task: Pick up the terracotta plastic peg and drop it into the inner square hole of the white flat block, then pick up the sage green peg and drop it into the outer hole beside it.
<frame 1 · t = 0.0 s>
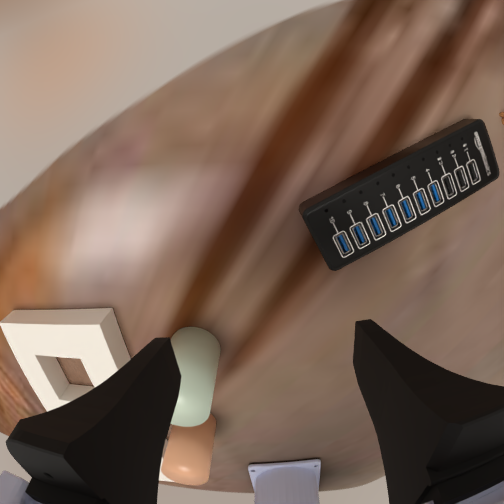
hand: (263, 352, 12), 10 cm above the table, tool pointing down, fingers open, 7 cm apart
multiport hub: (401, 183, 20), on the table
peg terracotta: (195, 420, 27), on the table
white flat block: (98, 402, 27), on the table
peg sage: (195, 347, 24), on the table
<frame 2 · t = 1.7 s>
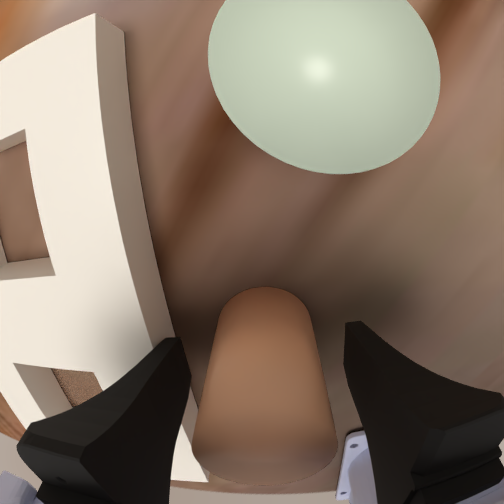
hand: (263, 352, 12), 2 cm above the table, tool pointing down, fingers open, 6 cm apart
peg terracotta: (264, 328, 14), on the table
white flat block: (55, 300, 13), on the table
peg sage: (294, 100, 10), on the table
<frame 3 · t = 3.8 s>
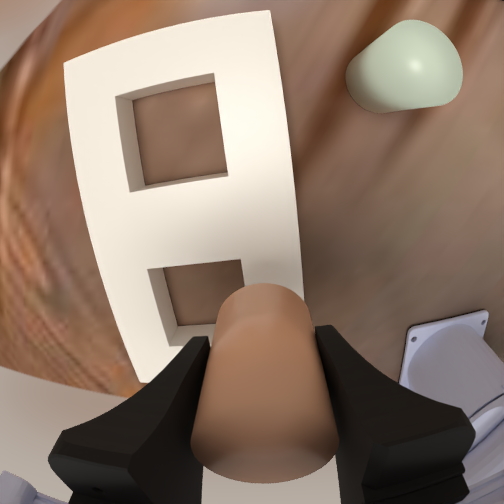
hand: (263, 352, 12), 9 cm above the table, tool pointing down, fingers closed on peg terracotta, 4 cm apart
peg terracotta: (264, 325, 13), point 7 cm above the table, touching gripper
white flat block: (193, 214, 19), on the table
peg sage: (376, 82, 16), on the table
when the fingers open (4 cm above the table, at t = 5.7 s): peg terracotta drops 2 cm, resting in white flat block.
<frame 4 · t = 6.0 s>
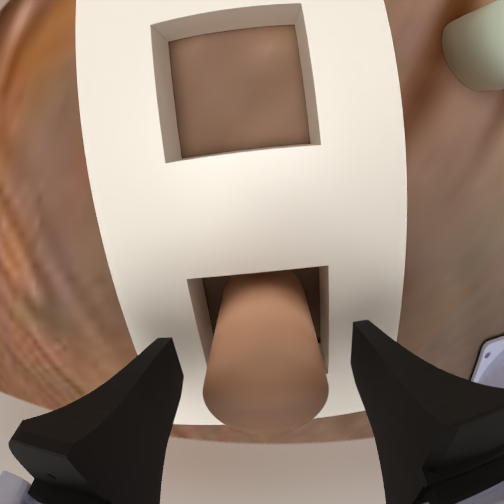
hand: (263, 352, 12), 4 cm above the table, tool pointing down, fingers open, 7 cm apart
peg terracotta: (263, 300, 15), resting in white flat block
white flat block: (251, 201, 14), on the table
peg sage: (472, 54, 11), on the table
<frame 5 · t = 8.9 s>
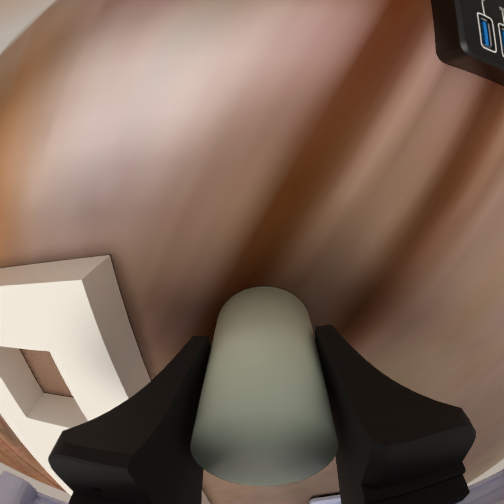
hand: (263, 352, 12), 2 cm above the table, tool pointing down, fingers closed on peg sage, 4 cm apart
white flat block: (88, 421, 17), on the table
peg sage: (263, 328, 13), on the table, touching gripper
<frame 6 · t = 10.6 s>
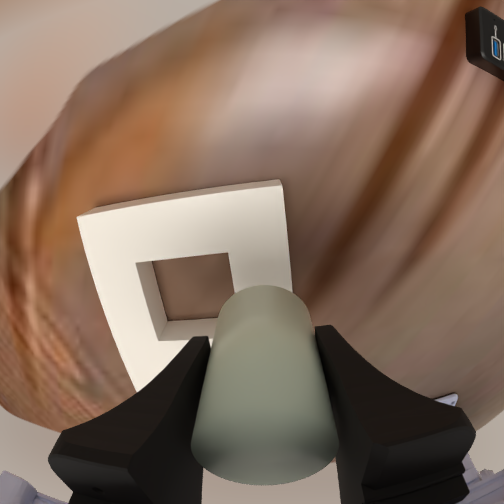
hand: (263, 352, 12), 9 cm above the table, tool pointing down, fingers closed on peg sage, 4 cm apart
white flat block: (210, 344, 23), on the table
peg sage: (264, 327, 13), point 7 cm above the table, touching gripper
when the fingers open (4 cm above the table, at t = 12.5 s): peg sage drops 2 cm, resting in white flat block.
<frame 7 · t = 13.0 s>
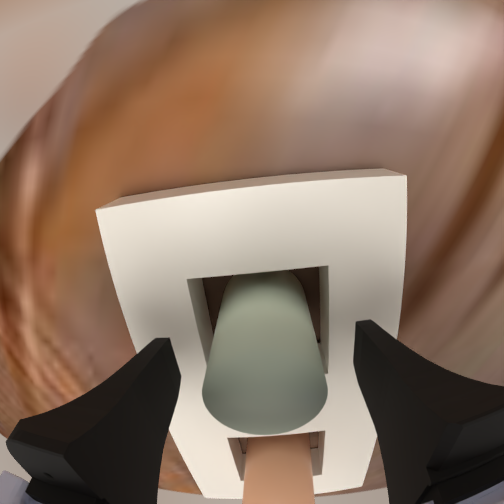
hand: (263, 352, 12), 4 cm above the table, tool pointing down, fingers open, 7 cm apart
peg terracotta: (278, 430, 19), resting in white flat block
white flat block: (272, 378, 17), on the table
peg sage: (264, 302, 16), resting in white flat block
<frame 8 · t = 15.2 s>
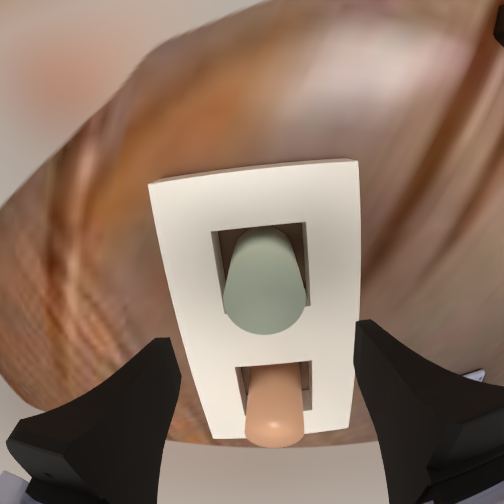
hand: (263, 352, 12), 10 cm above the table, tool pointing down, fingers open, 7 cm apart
peg terracotta: (275, 369, 25), resting in white flat block
white flat block: (269, 319, 23), on the table
peg sage: (263, 254, 22), resting in white flat block
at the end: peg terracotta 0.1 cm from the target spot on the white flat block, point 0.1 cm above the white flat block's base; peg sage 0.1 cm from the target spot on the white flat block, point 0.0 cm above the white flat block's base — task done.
